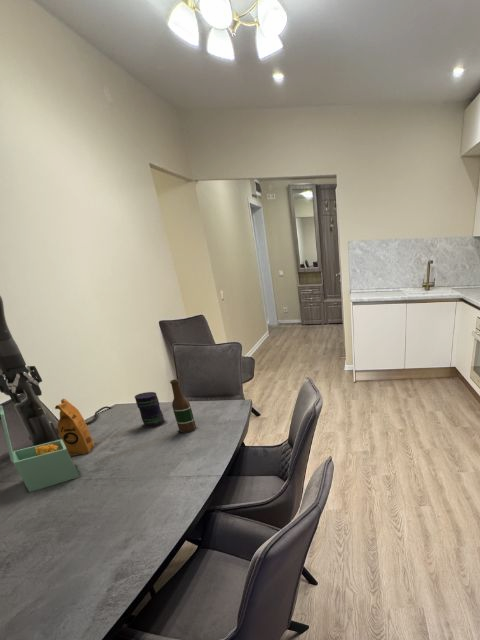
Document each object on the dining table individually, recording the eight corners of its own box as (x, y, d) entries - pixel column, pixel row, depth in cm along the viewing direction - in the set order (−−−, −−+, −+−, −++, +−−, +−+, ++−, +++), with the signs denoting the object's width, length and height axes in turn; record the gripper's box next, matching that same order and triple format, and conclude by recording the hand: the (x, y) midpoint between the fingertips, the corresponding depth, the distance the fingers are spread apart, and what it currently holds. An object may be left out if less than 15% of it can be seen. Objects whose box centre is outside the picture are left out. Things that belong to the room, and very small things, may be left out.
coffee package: (64, 457, 166) (41, 408, 155) (73, 446, 176) (52, 399, 165) (90, 453, 168) (69, 404, 157) (98, 442, 178) (78, 396, 167)
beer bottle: (199, 427, 190) (186, 378, 178) (188, 433, 184) (174, 383, 172) (187, 425, 193) (173, 377, 181) (175, 431, 186) (160, 382, 174)
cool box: (74, 465, 158) (61, 439, 152) (79, 476, 150) (66, 448, 144) (26, 479, 150) (11, 451, 144) (29, 492, 141) (13, 462, 135)
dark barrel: (169, 421, 199) (160, 393, 191) (153, 428, 191) (143, 399, 184) (155, 419, 203) (146, 391, 195) (139, 426, 195) (129, 397, 188)
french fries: (44, 477, 149) (30, 448, 143) (51, 472, 152) (38, 444, 146) (66, 476, 148) (52, 448, 142) (72, 471, 152) (59, 443, 146)
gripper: (16, 349, 140) (36, 393, 148) (-24, 358, 128) (1, 405, 136) (34, 349, 139) (53, 393, 147) (-5, 358, 127) (19, 405, 135)
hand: (28, 399), depth 142 cm, fingers open, 8 cm apart
